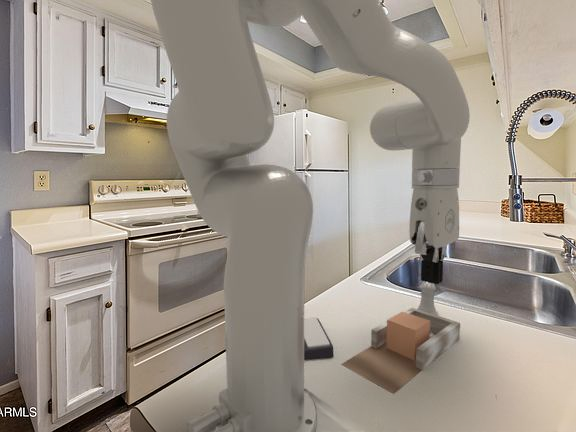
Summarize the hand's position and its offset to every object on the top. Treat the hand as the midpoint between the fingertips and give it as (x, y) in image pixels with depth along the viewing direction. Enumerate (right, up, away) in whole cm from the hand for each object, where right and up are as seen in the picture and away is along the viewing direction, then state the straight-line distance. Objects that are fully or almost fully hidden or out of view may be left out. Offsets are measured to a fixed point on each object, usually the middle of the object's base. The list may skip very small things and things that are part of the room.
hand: (431, 281), depth 57 cm
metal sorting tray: (-7, -12, -4) cm, 14 cm away
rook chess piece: (+4, -11, +11) cm, 16 cm away
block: (-6, -11, -4) cm, 13 cm away
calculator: (-27, -13, -2) cm, 30 cm away
